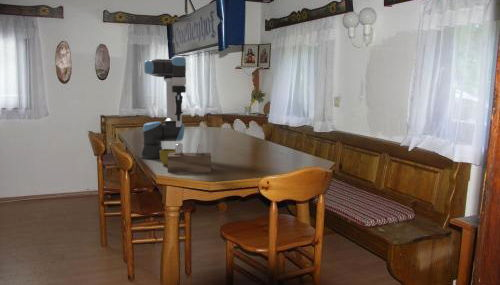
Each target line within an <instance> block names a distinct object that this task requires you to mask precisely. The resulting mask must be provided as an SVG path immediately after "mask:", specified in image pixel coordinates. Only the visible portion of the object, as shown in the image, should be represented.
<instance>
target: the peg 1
mask: <svg viewBox="0 0 500 285" xmlns="http://www.w3.org/2000/svg"><path fill="white" fill-rule="evenodd" d="M174 145H175V155H183V153H184V152H183V148H184V146H183V143H175V144H174Z"/></svg>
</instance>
